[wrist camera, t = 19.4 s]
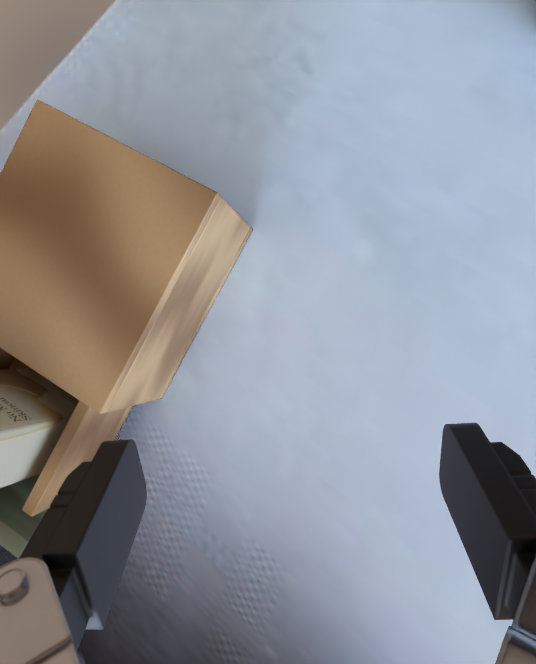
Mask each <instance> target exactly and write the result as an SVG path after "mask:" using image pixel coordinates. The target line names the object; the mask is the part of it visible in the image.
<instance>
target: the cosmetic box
mask: <svg viewBox="0 0 536 664" xmlns="http://www.w3.org/2000/svg"><path fill="white" fill-rule="evenodd" d="M78 402H79V400H78V399H77V398H75V397H74V396H72V395H71V394H69V393H68V392H66V391H65V390H63V389H62V388H60V387H59V386H57V385H56V384H54V383H52V382H51V381H49V380H48V379H46V378H45V377H43V376H42V375H40V374H39V373H37V372H36V371H34V370H33V369H31V368H23V369H5V370H0V488H2V487H5V486H8V485H10V484H13V483H16V482H19V481H21V480H24V479H27V478H30V477H32V476H35V475H38V474H41V472H42V470H43V468H44V466H45V465H46V463H47V461H48V459H49V457H50V455H51V453H52V451H53V449H54V447H55V446H56V444H57V442H58V440H59V438H60V436H61V434H62V432H63V430H64V428H65V427H66V425H67V423H68V421H69V419H70V417H71V415H72V413H73V411H74V410H75V408H76V406H77V404H78Z"/></svg>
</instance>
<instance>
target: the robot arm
mask: <svg viewBox="0 0 536 664" xmlns="http://www.w3.org/2000/svg"><path fill="white" fill-rule="evenodd" d="M439 477H440V486H441V490H442V494H443V497H444V500H445V502H446V504H447V507H448V509H449V512H450V514H451V516H452V519H453V521H454V524H455V526H456V528H457V531H458V533H459V535H460V538H461V540H462V543H463V545H464V547H465V550H466V552H467V555H468V557H469V559H470V562H471V564H472V567H473V569H474V571H475V574H476V576H477V578H478V581H479V583H480V586H481V588H482V590H483V593H484V595H485V598H486V600H487V602H488V605H489V607H490V610H491V612H492V614H493V617H494V619H495V620H506V619H513V623H512V626H509V627H508V630H507V632H506V635H505V637H504V640H503V643H502V646H501V649H500V652H499V655H498V657H497V660H496V663H495V664H536V478H535V477H534V475H531V471H530V470H529V468H528V467H527V465H526V464H525V462H524V461H523V460H522V458H521V457H520V455H518V454H517V453H516V452H514V451H513V450H512V449H510V448H509V447H507V446H506V445H505V444H503V443H502V442H494V443H490V442H489V440H488V438H487V437H486V435H485V434H484V432H483V431H482V429H481V427H480V426H479V425H478V424H477V423H461V424H446V425H445V426H444V429H443V437H442V448H441V459H440V471H439ZM146 495H147V492H146V483H145V479H144V475H143V471H142V467H141V463H140V459H139V455H138V451H137V447H136V444H135V442H134V441H133V440H115V441H104V442H102V443H101V445H100V447H99V448H98V450H97V452H96V454H95V456H94V458H93V460H92V461H88V462H82V463H81V464H80V465H79V466H78V467H77V468H75V469H74V470H73V471H72V472H71V473H70V474H69V475H68V476H67V477H66V479H65V480H64V482H63V484H62V486H61V487H60V489H59V491H58V495H56V496H55V498H54V499H53V501H52V503H51V504H50V509H47V511H46V513H45V515H44V516H43V518H42V520H41V521H40V523H39V525H38V527H37V528H36V530H35V532H34V533H33V535H32V537H31V538H30V540H29V542H28V544H27V545H26V547H25V549H24V550H23V552H22V554H21V556H20V557H19V559H17V560H14V561H11V562H9V563H6V564H5V565H3V566H1V567H0V664H85V661H84V658H83V655H82V652H81V650H80V647H79V645H80V642H81V640H82V637H83V634H84V632H85V630H87V629H104V626H105V623H106V620H107V617H108V614H109V611H110V608H111V605H112V602H113V600H114V597H115V594H116V591H117V588H118V585H119V582H120V579H121V576H122V573H123V570H124V567H125V565H126V562H127V559H128V556H129V553H130V550H131V547H132V544H133V541H134V538H135V535H136V533H137V530H138V527H139V524H140V521H141V518H142V515H143V512H144V509H145V505H146Z"/></svg>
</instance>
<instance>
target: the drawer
mask: <svg viewBox="0 0 536 664" xmlns="http://www.w3.org/2000/svg"><path fill="white" fill-rule="evenodd" d="M23 368H30V367H28V366H27V365H25V364H24V363H22V362H21V361H19V360H18V359H16V358H15V357H13V356H12V355H10V354H9V353H7V352H6V351H4V350H3V349H1V348H0V370H5V369H23ZM131 408H132V406H131V407H127V408H123V409H119V410H115V411H111V412H106V413H103V414H99V413H98V412H96V411H95V410H93V409H92V408H90V407H89V406H87V405H86V404H84V403H83V402H81V401H80V400H79V402H78V404H77V406H76V408H75V410H74V411H73V413H72V415H71V417H70V419H69V421H68V423H67V425H66V427H65V428H64V430H63V432H62V434H61V436H60V438H59V440H58V442H57V444H56V446H55V447H54V449H53V451H52V453H51V455H50V457H49V459H48V461H47V463H46V465H45V466H44V468H43V470H42V472H41V474H38V475H35V476H32V477H30V478H27V479H24V480H21V481H19V482H16V483H13V484H10V485H8V486H5V487H2V488H0V545H1V546H3V547H4V548H5V549H7V550H8V551H9V552H10V553H12V554H13V555H14V556H16V557H17V558H18V559H19V557H20V556H21V554H22V552H23V550H24V549H25V547H26V545H27V544H28V542H29V540H30V538H31V537H32V535H33V533H34V532H35V530H36V528H37V527H38V525H39V523H40V521H41V520H42V518H43V516H44V515H45V513H46V511H47V509H50V504H51V503H52V501H53V499H54V498H55V496H56V495H58V491H59V489H60V487H61V486H62V484H63V482H64V480H65V479H66V477H67V476H68V475H69V474H70V473H71V472H72V471H73V470H74V469H75V468H77V467H78V466H79V465H80V464H81V463H82V462H88V461H92V460H93V458H94V456H95V454H96V452H97V450H98V448H99V447H100V445H101V443H102V442H104V441H114V440H115V438H116V436H117V434H118V432H119V430H120V428H121V427H122V425H123V423H124V421H125V419H126V417H127V415H128V414H129V412H130V410H131Z"/></svg>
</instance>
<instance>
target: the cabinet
mask: <svg viewBox="0 0 536 664" xmlns="http://www.w3.org/2000/svg"><path fill="white" fill-rule="evenodd" d="M252 231H253V229H252V228H251V227H250V226H249V225H248V224H247V223H246V222H245V221H244V220H243V219H242V218H241V217H240V215H239V214H238V213H237V212H236V211H235V210H234V209H233V208H232V207H231V206H230V205H229V204H228V203H227V202H226V201H225V200H224V199H223V198H222V197H221V196H220V195H219V194H218V193H217V192H215V191H213V190H211V189H209V188H207V187H205V186H203V185H201V184H200V183H198V182H196V181H194V180H192V179H190V178H188V177H186V176H184V175H182V174H180V173H178V172H176V171H175V170H173V169H171V168H169V167H167V166H165V165H163V164H161V163H159V162H157V161H155V160H153V159H151V158H150V157H148V156H146V155H144V154H142V153H140V152H138V151H136V150H134V149H132V148H130V147H128V146H127V145H125V144H123V143H121V142H119V141H117V140H115V139H113V138H111V137H109V136H107V135H105V134H103V133H102V132H100V131H98V130H96V129H94V128H92V127H90V126H88V125H86V124H84V123H82V122H80V121H78V120H77V119H75V118H73V117H71V116H69V115H67V114H65V113H63V112H61V111H59V110H57V109H55V108H54V107H52V106H50V105H48V104H46V103H44V102H42V101H40V100H37V101H36V103H35V105H34V107H33V109H32V111H31V113H30V115H29V117H28V119H27V121H26V123H25V125H24V127H23V129H22V131H21V133H20V135H19V138H18V140H17V142H16V144H15V146H14V148H13V150H12V152H11V154H10V156H9V158H8V160H7V162H6V164H5V166H4V168H3V170H2V172H1V174H0V348H1V349H3V350H4V351H6V352H7V353H9V354H10V355H12V356H13V357H15V358H16V359H18V360H19V361H21V362H22V363H24V364H25V365H27V366H28V367H30V368H31V369H33V370H34V371H36V372H37V373H39V374H40V375H42V376H43V377H45V378H46V379H48V380H49V381H51V382H52V383H54V384H56V385H57V386H59V387H60V388H62V389H63V390H65V391H66V392H68V393H69V394H71V395H72V396H74V397H75V398H77V399H78V400H80V401H81V402H83V403H84V404H86V405H87V406H89V407H90V408H92V409H93V410H95V411H96V412H98V413H99V414H103V413H106V412H111V411H115V410H119V409H123V408H127V407H131V406H134V405H138V404H142V403H146V402H150V401H154V400H158V399H161V398H162V397H163V395H164V393H165V391H166V389H167V388H168V386H169V384H170V382H171V380H172V378H173V377H174V375H175V373H176V371H177V369H178V367H179V365H180V364H181V362H182V360H183V358H184V356H185V354H186V353H187V351H188V349H189V347H190V345H191V343H192V341H193V340H194V338H195V336H196V334H197V332H198V330H199V329H200V327H201V325H202V323H203V321H204V319H205V318H206V316H207V314H208V312H209V310H210V308H211V306H212V305H213V303H214V301H215V299H216V297H217V295H218V294H219V292H220V290H221V288H222V286H223V284H224V282H225V281H226V279H227V277H228V275H229V273H230V271H231V270H232V268H233V266H234V264H235V262H236V260H237V258H238V257H239V255H240V253H241V251H242V249H243V247H244V246H245V244H246V242H247V240H248V238H249V236H250V234H251V233H252Z"/></svg>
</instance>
